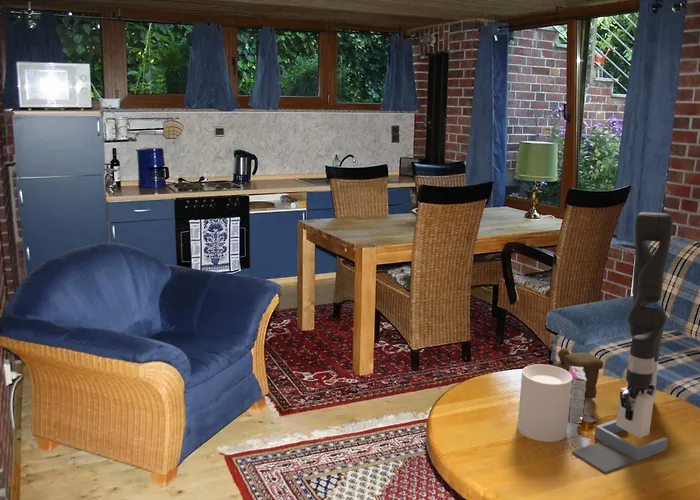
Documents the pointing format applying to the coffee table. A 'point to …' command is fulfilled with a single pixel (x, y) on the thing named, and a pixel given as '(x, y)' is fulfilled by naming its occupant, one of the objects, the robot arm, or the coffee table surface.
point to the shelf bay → (637, 453)
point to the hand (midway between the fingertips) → (633, 417)
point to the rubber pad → (603, 457)
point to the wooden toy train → (585, 361)
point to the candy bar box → (577, 393)
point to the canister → (544, 402)
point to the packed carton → (637, 415)
